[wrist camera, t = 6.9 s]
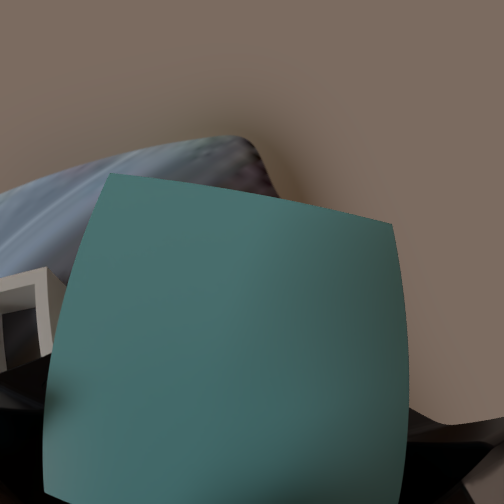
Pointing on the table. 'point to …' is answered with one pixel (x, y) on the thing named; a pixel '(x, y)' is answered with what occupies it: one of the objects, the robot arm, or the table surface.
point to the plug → (227, 353)
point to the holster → (33, 304)
